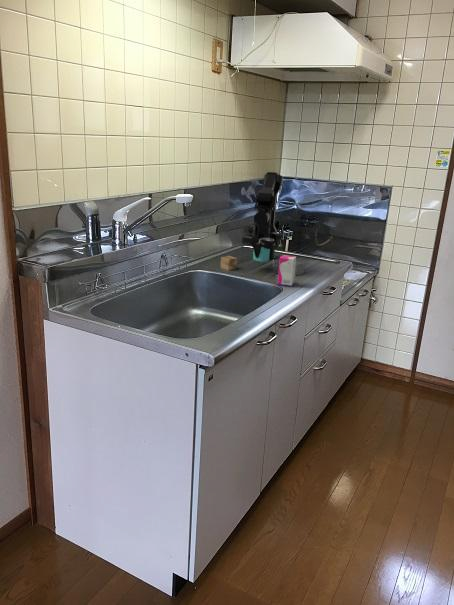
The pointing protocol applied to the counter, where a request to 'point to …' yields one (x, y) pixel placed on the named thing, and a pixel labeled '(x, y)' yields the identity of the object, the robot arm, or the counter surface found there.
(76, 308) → the counter surface
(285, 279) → the supplement box
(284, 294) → the counter surface
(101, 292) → the counter surface
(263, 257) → the teal cube
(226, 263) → the walnut cube
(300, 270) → the charcoal cube
